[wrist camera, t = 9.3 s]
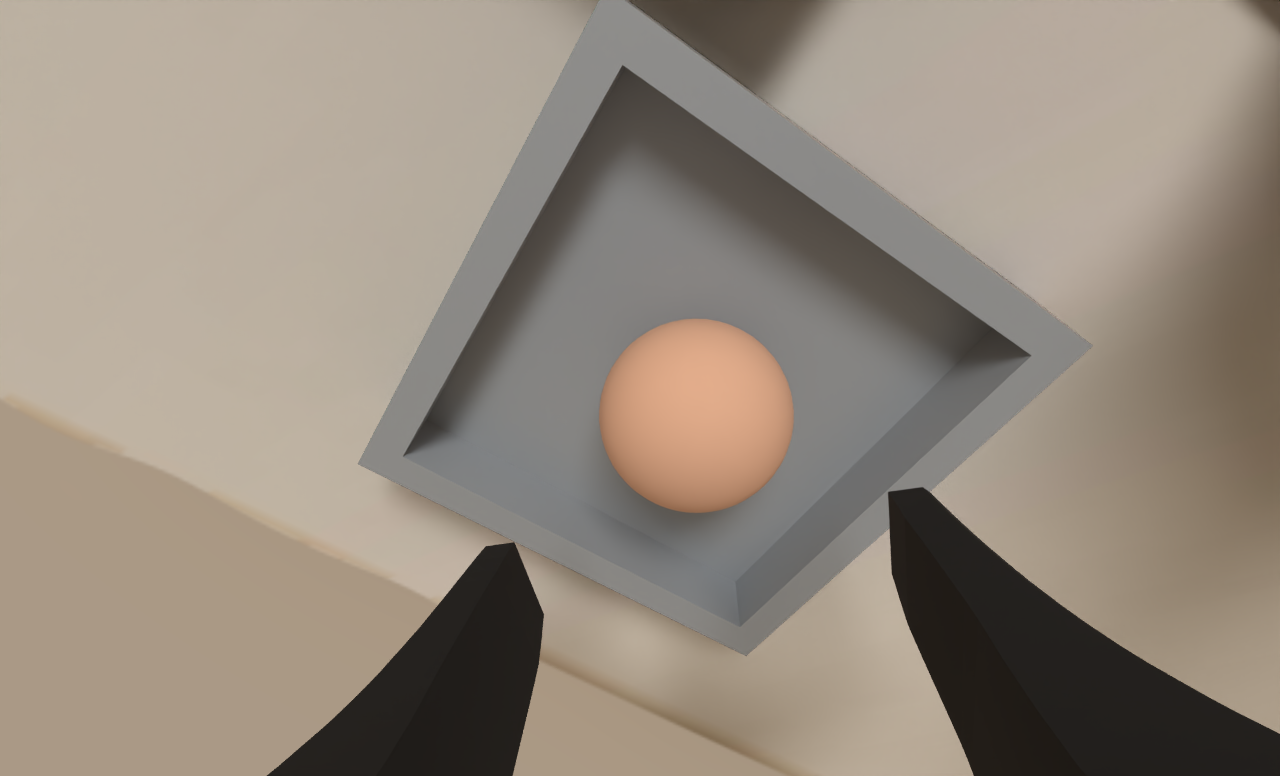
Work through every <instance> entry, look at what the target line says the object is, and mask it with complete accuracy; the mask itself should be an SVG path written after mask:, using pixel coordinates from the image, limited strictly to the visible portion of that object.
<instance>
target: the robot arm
mask: <svg viewBox="0 0 1280 776" xmlns="http://www.w3.org/2000/svg"><path fill="white" fill-rule="evenodd" d="M888 504H889V525H890V545H891V566H892V575H893V579H894V582H895V585H896V588H897V592H898V595H899V598H900V601H901V604H902V608H903V611H904V614H905V617H906V620H907V623H908V626H909V628H910V630H911V633H912V635H913V637H914V640H915V642H916V644H917V646H918V649H919V651H920V653H921V655H922V658H923V660H924V662H925V664H926V667H927V669H928V671H929V673H930V675H931V678H932V680H933V682H934V684H935V686H936V689H937V691H938V693H939V695H940V698H941V700H942V702H943V704H944V706H945V709H946V711H947V713H948V715H949V718H950V720H951V722H952V724H953V726H954V729H955V731H956V733H957V735H958V738H959V740H960V742H961V744H962V747H963V749H964V752H965V754H966V757H967V759H968V762H969V764H970V767H971V769H972V772H973V775H974V776H1280V734H1279V733H1277V732H1275V731H1273V730H1271V729H1269V728H1267V727H1265V726H1263V725H1261V724H1259V723H1257V722H1255V721H1253V720H1251V719H1249V718H1247V717H1245V716H1243V715H1241V714H1239V713H1237V712H1235V711H1233V710H1231V709H1229V708H1228V707H1226V706H1224V705H1222V704H1220V703H1218V702H1216V701H1214V700H1213V699H1211V698H1209V697H1207V696H1205V695H1204V694H1202V693H1200V692H1198V691H1196V690H1195V689H1193V688H1191V687H1189V686H1188V685H1186V684H1184V683H1182V682H1181V681H1179V680H1177V679H1175V678H1174V677H1172V676H1170V675H1168V674H1167V673H1165V672H1163V671H1161V670H1160V669H1158V668H1156V667H1154V666H1153V665H1151V664H1149V663H1147V662H1146V661H1144V660H1142V659H1141V658H1139V657H1138V656H1136V655H1134V654H1133V653H1131V652H1130V651H1128V650H1126V649H1125V648H1123V647H1122V646H1120V645H1118V644H1117V643H1115V642H1114V641H1112V640H1111V639H1109V638H1108V637H1106V636H1105V635H1103V634H1102V633H1100V632H1099V631H1097V630H1096V629H1094V628H1093V627H1091V626H1090V625H1088V624H1087V623H1085V622H1084V621H1083V620H1081V619H1080V618H1078V617H1077V616H1075V615H1074V614H1073V613H1071V612H1070V611H1069V610H1067V609H1066V608H1064V607H1063V606H1062V605H1060V604H1059V603H1058V602H1056V601H1055V600H1054V599H1052V598H1051V597H1050V596H1048V595H1047V594H1046V593H1044V592H1043V591H1042V590H1041V589H1039V588H1038V587H1037V586H1035V585H1034V584H1033V583H1031V582H1030V581H1029V580H1028V579H1026V578H1025V577H1024V576H1023V575H1021V574H1020V573H1019V572H1018V571H1016V570H1015V569H1014V568H1013V567H1012V566H1010V565H1009V564H1008V563H1007V562H1006V561H1005V560H1003V559H1002V558H1001V557H1000V556H999V555H997V554H996V553H995V552H994V551H993V550H991V549H990V548H989V547H988V546H987V545H986V544H985V543H983V542H982V541H981V540H980V539H979V538H978V537H977V536H975V535H974V534H973V533H972V532H971V531H970V530H969V529H968V528H967V527H966V526H965V525H963V524H962V523H961V522H960V521H959V520H958V519H957V518H956V517H955V516H954V515H953V514H952V513H951V512H950V511H949V510H948V509H946V508H945V507H944V506H943V505H942V504H941V503H940V502H939V501H938V500H937V499H936V498H935V497H934V496H933V495H932V494H931V493H930V492H929V491H928V490H926V489H925V488H923V487H919V488H911V489H904V490H897V491H889V492H888ZM543 618H544V614H543V611H542V609H541V606H540V604H539V602H538V599H537V597H536V594H535V592H534V589H533V587H532V584H531V582H530V580H529V577H528V575H527V572H526V570H525V567H524V565H523V562H522V560H521V558H520V555H519V553H518V550H517V548H516V545H515V543H507V544H500V545H493V546H486V547H485V548H484V549H483V550H482V551H481V553H480V554H479V555H478V556H477V557H476V559H475V560H474V561H473V562H472V564H471V565H470V566H469V567H468V569H467V570H466V571H465V572H464V574H463V575H462V576H461V577H460V579H459V580H458V581H457V582H456V584H455V585H454V586H453V587H452V589H451V590H450V591H449V592H448V594H447V595H446V596H445V597H444V599H443V600H442V601H441V602H440V603H439V605H438V606H437V607H436V608H435V609H434V611H433V612H432V613H431V614H430V616H429V617H428V618H427V619H426V620H425V622H424V623H423V624H422V625H421V627H420V628H419V629H418V630H417V631H416V632H415V633H414V635H413V636H412V637H411V638H410V639H409V640H408V641H407V642H406V644H405V645H404V646H403V647H402V648H401V649H400V650H399V652H398V653H397V654H396V655H395V656H394V657H393V658H392V659H391V660H390V662H389V663H388V664H387V665H386V666H385V667H384V668H383V669H382V671H381V672H380V673H379V674H378V675H377V676H376V677H375V678H374V679H373V680H372V681H371V682H370V683H369V684H368V685H367V686H366V687H365V688H364V689H363V690H362V691H361V692H360V693H359V694H358V695H357V696H356V697H355V698H354V699H353V700H352V701H351V702H350V703H349V704H348V705H347V706H346V707H345V708H344V709H343V710H342V711H341V712H340V713H339V714H338V715H337V716H335V718H333V719H332V720H331V721H330V722H329V723H328V724H327V725H326V726H325V727H323V728H322V729H321V730H320V731H319V732H318V733H316V734H315V735H314V736H313V737H312V738H311V739H310V740H308V741H307V742H306V743H305V744H304V745H303V746H301V747H300V748H299V749H298V750H297V751H296V752H294V753H293V754H292V755H291V756H290V757H289V758H288V759H286V760H285V761H284V762H283V763H282V764H281V765H279V767H277V768H276V769H274V770H273V771H272V772H271V773H270V774H268V775H267V776H512V775H513V771H514V767H515V763H516V759H517V754H518V750H519V746H520V742H521V738H522V734H523V729H524V725H525V721H526V717H527V713H528V709H529V704H530V700H531V696H532V691H533V687H534V683H535V678H536V674H537V669H538V665H539V657H540V648H541V639H542V628H543Z"/></svg>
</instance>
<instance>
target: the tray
mask: <svg viewBox="0 0 1280 776" xmlns="http://www.w3.org/2000/svg"><path fill="white" fill-rule="evenodd" d="M683 319H709V320H715V321H720V322H723V323H726V324H730V325H732V326H734V327H736V328H739V329H741V330H743V331H744V332H746V333H748V334H749V335H751V336H753V337H754V338H755V339H756V340H758V341H759V342H760V343H761V344H762V345H763V346H764V347H765V348H766V349H767V350H768V351H769V352H770V353H771V354H772V355H773V357H774V358H775V359H776V361H777V362H778V364H779V365H780V367H781V369H782V371H783V373H784V375H785V377H786V379H787V381H788V384H789V388H790V391H791V395H792V401H793V408H794V424H793V432H792V438H791V441H790V444H789V447H788V450H787V453H786V456H785V458H784V460H783V462H782V464H781V465H780V467H779V468H778V470H777V471H776V472H775V474H774V475H773V477H772V478H771V479H770V480H769V481H768V482H767V484H766V485H765V486H764V487H762V488H761V489H760V490H759V491H758V492H756V493H755V494H754V495H752V496H751V497H749V498H748V499H746V500H745V501H743V502H741V503H739V504H737V505H734V506H732V507H729V508H726V509H722V510H718V511H713V512H706V513H688V512H681V511H675V510H671V509H667V508H665V507H662V506H659V505H657V504H655V503H653V502H651V501H649V500H647V499H646V498H644V497H643V496H641V495H640V494H638V493H637V492H636V491H634V490H633V489H632V488H631V487H630V486H629V485H628V484H627V483H626V482H625V481H624V480H623V479H622V477H621V476H620V475H619V474H618V472H617V471H616V469H615V468H614V466H613V465H612V463H611V461H610V459H609V457H608V455H607V452H606V450H605V447H604V444H603V441H602V437H601V431H600V424H599V407H600V399H601V394H602V390H603V387H604V384H605V381H606V378H607V376H608V374H609V372H610V370H611V368H612V366H613V365H614V363H615V362H616V360H617V359H618V358H619V356H620V355H621V354H622V352H623V351H624V350H625V349H626V348H627V347H628V346H629V345H630V344H631V343H632V342H634V341H635V340H636V339H637V338H639V337H640V336H642V335H643V334H645V333H646V332H648V331H650V330H652V329H654V328H656V327H658V326H660V325H663V324H666V323H669V322H673V321H678V320H683ZM1092 346H1093V345H1091V344H1090V343H1089V342H1088V341H1086V340H1085V339H1084V338H1082V337H1081V336H1080V335H1079V334H1077V333H1076V332H1075V331H1073V330H1072V329H1071V328H1070V327H1068V326H1067V325H1066V324H1065V323H1063V322H1062V321H1061V320H1059V319H1058V318H1057V317H1056V316H1054V315H1053V314H1052V313H1050V312H1049V311H1048V310H1047V309H1045V308H1044V307H1043V306H1041V305H1040V304H1039V303H1037V302H1036V301H1035V300H1033V299H1032V298H1031V297H1029V296H1028V295H1027V294H1025V293H1024V292H1023V291H1021V290H1020V289H1019V288H1017V287H1016V286H1014V285H1013V284H1012V283H1010V282H1009V281H1008V280H1006V279H1005V278H1004V277H1002V276H1001V275H1000V274H998V273H997V272H995V271H994V270H993V269H991V268H990V267H989V266H987V265H986V264H985V263H983V262H982V261H981V260H979V259H978V258H977V257H975V256H974V255H972V254H971V253H970V252H968V251H967V250H966V249H964V248H963V247H962V246H960V245H959V244H958V243H956V242H955V241H954V240H952V239H951V238H949V237H948V236H947V235H945V234H944V233H943V232H941V231H940V230H939V229H937V228H936V227H935V226H933V225H932V224H930V223H929V222H928V221H926V220H925V219H924V218H922V217H921V216H920V215H918V214H917V213H916V212H914V211H913V210H912V209H910V208H909V207H907V206H906V205H905V204H903V203H902V202H901V201H899V200H898V199H897V198H895V197H894V196H893V195H891V194H890V193H888V192H887V191H886V190H884V189H883V188H882V187H880V186H879V185H878V184H876V183H875V182H874V181H872V180H871V179H870V178H868V177H867V176H865V175H864V174H863V173H861V172H860V171H859V170H857V169H856V168H855V167H853V166H852V165H851V164H849V163H848V162H846V161H845V160H844V159H842V158H841V157H840V156H838V155H837V154H836V153H834V152H833V151H832V150H830V149H829V148H828V147H826V146H825V145H823V144H822V143H821V142H819V141H818V140H817V139H815V138H814V137H813V136H811V135H810V134H809V133H807V132H806V131H805V130H803V129H802V128H800V127H799V126H798V125H796V124H795V123H794V122H792V121H791V120H790V119H788V118H787V117H786V116H784V115H783V114H781V113H780V112H779V111H777V110H776V109H775V108H773V107H772V106H771V105H769V104H768V103H767V102H765V101H764V100H763V99H761V98H760V97H758V96H757V95H756V94H754V93H753V92H752V91H750V90H749V89H748V88H746V87H745V86H744V85H742V84H741V83H739V82H738V81H737V80H735V79H734V78H733V77H731V76H730V75H729V74H727V73H726V72H725V71H723V70H722V69H721V68H719V67H718V66H716V65H715V64H714V63H712V62H711V61H710V60H708V59H707V58H706V57H704V56H703V55H702V54H700V53H699V52H697V51H696V50H695V49H693V48H692V47H691V46H689V45H688V44H687V43H685V42H684V41H683V40H681V39H680V38H679V37H677V36H676V35H674V34H673V33H672V32H670V31H669V30H668V29H666V28H665V27H664V26H662V25H661V24H660V23H658V22H657V21H656V20H654V19H653V18H651V17H650V16H649V15H647V14H646V13H645V12H643V11H642V10H641V9H639V8H638V7H637V6H635V5H634V4H632V3H631V2H630V1H628V0H599V1H598V3H597V5H596V7H595V9H594V11H593V13H592V15H591V17H590V19H589V21H588V23H587V24H586V26H585V28H584V30H583V32H582V34H581V36H580V38H579V40H578V42H577V44H576V46H575V48H574V49H573V51H572V53H571V55H570V57H569V59H568V61H567V63H566V65H565V67H564V69H563V71H562V73H561V74H560V76H559V78H558V80H557V82H556V84H555V86H554V88H553V90H552V92H551V94H550V96H549V97H548V99H547V101H546V103H545V105H544V107H543V109H542V111H541V113H540V115H539V117H538V119H537V121H536V122H535V124H534V126H533V128H532V130H531V132H530V134H529V136H528V138H527V140H526V142H525V144H524V146H523V147H522V149H521V151H520V153H519V155H518V157H517V159H516V161H515V163H514V165H513V167H512V169H511V170H510V172H509V174H508V176H507V178H506V180H505V182H504V184H503V186H502V188H501V190H500V192H499V194H498V195H497V197H496V199H495V201H494V203H493V205H492V207H491V209H490V211H489V213H488V215H487V217H486V219H485V220H484V222H483V224H482V226H481V228H480V230H479V232H478V234H477V236H476V238H475V240H474V242H473V243H472V245H471V247H470V249H469V251H468V253H467V255H466V257H465V259H464V261H463V263H462V265H461V267H460V268H459V270H458V272H457V274H456V276H455V278H454V280H453V282H452V284H451V286H450V288H449V290H448V292H447V293H446V295H445V297H444V299H443V301H442V303H441V305H440V307H439V309H438V311H437V313H436V315H435V317H434V318H433V320H432V322H431V324H430V326H429V328H428V330H427V332H426V334H425V336H424V338H423V340H422V341H421V343H420V345H419V347H418V349H417V351H416V353H415V355H414V357H413V359H412V361H411V363H410V365H409V366H408V368H407V370H406V372H405V374H404V376H403V378H402V380H401V382H400V384H399V386H398V388H397V390H396V391H395V393H394V395H393V397H392V399H391V401H390V403H389V405H388V407H387V409H386V411H385V413H384V414H383V416H382V418H381V420H380V422H379V424H378V426H377V428H376V430H375V432H374V434H373V436H372V438H371V439H370V441H369V443H368V445H367V447H366V449H365V451H364V453H363V455H362V457H361V459H360V461H359V463H358V464H359V465H361V466H363V467H365V468H367V469H369V470H371V471H373V472H375V473H377V474H379V475H381V476H383V477H385V478H387V479H389V480H391V481H393V482H395V483H397V484H399V485H401V486H403V487H405V488H407V489H409V490H411V491H413V492H415V493H417V494H419V495H421V496H423V497H425V498H427V499H429V500H431V501H434V502H436V503H438V504H440V505H442V506H444V507H446V508H448V509H450V510H452V511H454V512H456V513H458V514H460V515H462V516H464V517H466V518H468V519H470V520H472V521H474V522H476V523H478V524H480V525H482V526H484V527H486V528H488V529H490V530H492V531H494V532H496V533H498V534H500V535H502V536H504V537H506V538H508V539H510V540H512V541H514V542H516V543H518V544H520V545H522V546H524V547H527V548H529V549H531V550H533V551H535V552H537V553H539V554H541V555H543V556H545V557H547V558H549V559H551V560H553V561H555V562H557V563H559V564H561V565H563V566H565V567H567V568H569V569H571V570H573V571H575V572H577V573H579V574H581V575H583V576H585V577H587V578H589V579H591V580H593V581H595V582H597V583H599V584H601V585H603V586H605V587H607V588H609V589H611V590H613V591H615V592H617V593H620V594H622V595H624V596H626V597H628V598H630V599H632V600H634V601H636V602H638V603H640V604H642V605H644V606H646V607H648V608H650V609H652V610H654V611H656V612H658V613H660V614H662V615H664V616H666V617H668V618H670V619H672V620H674V621H676V622H678V623H680V624H682V625H684V626H686V627H688V628H690V629H692V630H694V631H696V632H698V633H700V634H702V635H704V636H706V637H708V638H710V639H713V640H715V641H717V642H719V643H721V644H723V645H725V646H727V647H729V648H731V649H733V650H735V651H737V652H739V653H741V654H743V655H745V656H747V655H748V654H749V653H750V652H751V651H752V650H753V649H755V648H756V647H757V646H758V645H759V644H760V643H761V642H762V641H763V640H765V639H766V638H767V637H768V636H769V635H770V634H771V633H772V632H774V631H775V630H776V629H777V628H778V627H779V626H780V625H781V624H782V623H784V622H785V621H786V620H787V619H788V618H789V617H790V616H791V615H793V614H794V613H795V612H796V611H797V610H798V609H799V608H800V607H801V606H803V605H804V604H805V603H806V602H807V601H808V600H809V599H810V598H812V597H813V596H814V595H815V594H816V593H817V592H818V591H819V590H821V589H822V588H823V587H824V586H825V585H826V584H827V583H828V582H829V581H831V580H832V579H833V578H834V577H835V576H836V575H837V574H838V573H840V572H841V571H842V570H843V569H844V568H845V567H846V566H847V565H848V564H850V563H851V562H852V561H853V560H854V559H855V558H856V557H857V556H859V555H860V554H861V553H862V552H863V551H864V550H865V549H866V548H867V547H869V546H870V545H871V544H872V543H873V542H874V541H875V540H876V539H878V538H879V537H880V536H881V535H882V534H883V533H884V532H885V531H886V530H888V529H889V528H890V525H889V504H888V492H889V491H897V490H904V489H911V488H919V487H923V488H925V489H926V490H928V491H929V492H930V491H931V490H932V489H933V488H935V487H936V486H937V485H938V484H939V483H940V482H941V481H942V480H944V479H945V478H946V477H947V476H948V475H949V474H950V473H951V472H952V471H954V470H955V469H956V468H957V467H958V466H959V465H960V464H961V463H963V462H964V461H965V460H966V459H967V458H968V457H969V456H970V455H971V454H973V453H974V452H975V451H976V450H977V449H978V448H979V447H980V446H982V445H983V444H984V443H985V442H986V441H987V440H988V439H989V438H991V437H992V436H993V435H994V434H995V433H996V432H997V431H998V430H999V429H1001V428H1002V427H1003V426H1004V425H1005V424H1006V423H1007V422H1008V421H1010V420H1011V419H1012V418H1013V417H1014V416H1015V415H1016V414H1017V413H1018V412H1020V411H1021V410H1022V409H1023V408H1024V407H1025V406H1026V405H1027V404H1029V403H1030V402H1031V401H1032V400H1033V399H1034V398H1035V397H1036V396H1037V395H1039V394H1040V393H1041V392H1042V391H1043V390H1044V389H1045V388H1046V387H1048V386H1049V385H1050V384H1051V383H1052V382H1053V381H1054V380H1055V379H1057V378H1058V377H1059V376H1060V375H1061V374H1062V373H1063V372H1064V371H1065V370H1067V369H1068V368H1069V367H1070V366H1071V365H1072V364H1073V363H1074V362H1076V361H1077V360H1078V359H1079V358H1080V357H1081V356H1082V355H1083V354H1084V353H1086V352H1087V351H1088V350H1089V349H1090V348H1091V347H1092Z"/></svg>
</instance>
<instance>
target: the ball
mask: <svg viewBox="0 0 1280 776" xmlns="http://www.w3.org/2000/svg"><path fill="white" fill-rule="evenodd" d="M599 424H600V431H601V437H602V441H603V444H604V447H605V450H606V452H607V455H608V457H609V459H610V461H611V463H612V465H613V466H614V468H615V469H616V471H617V472H618V474H619V475H620V476H621V477H622V479H623V480H624V481H625V482H626V483H627V484H628V485H629V486H630V487H631V488H632V489H633V490H634V491H636V492H637V493H638V494H640V495H641V496H643V497H644V498H646V499H647V500H649V501H651V502H653V503H655V504H657V505H659V506H662V507H665V508H667V509H671V510H675V511H681V512H688V513H706V512H713V511H718V510H722V509H726V508H729V507H732V506H734V505H737V504H739V503H741V502H743V501H745V500H746V499H748V498H749V497H751V496H752V495H754V494H755V493H756V492H758V491H759V490H760V489H761V488H762V487H764V486H765V485H766V484H767V482H768V481H769V480H770V479H771V478H772V477H773V475H774V474H775V472H776V471H777V470H778V468H779V467H780V465H781V464H782V462H783V460H784V458H785V456H786V453H787V450H788V447H789V444H790V441H791V438H792V432H793V424H794V408H793V401H792V395H791V391H790V388H789V384H788V381H787V379H786V377H785V375H784V373H783V371H782V369H781V367H780V365H779V364H778V362H777V361H776V359H775V358H774V357H773V355H772V354H771V353H770V352H769V351H768V350H767V349H766V348H765V347H764V346H763V345H762V344H761V343H760V342H759V341H758V340H756V339H755V338H754V337H753V336H751V335H749V334H748V333H746V332H744V331H743V330H741V329H739V328H736V327H734V326H732V325H730V324H726V323H723V322H720V321H715V320H709V319H683V320H678V321H673V322H669V323H666V324H663V325H660V326H658V327H656V328H654V329H652V330H650V331H648V332H646V333H645V334H643V335H642V336H640V337H639V338H637V339H636V340H635V341H634V342H632V343H631V344H630V345H629V346H628V347H627V348H626V349H625V350H624V351H623V352H622V354H621V355H620V356H619V358H618V359H617V360H616V362H615V363H614V365H613V366H612V368H611V370H610V372H609V374H608V376H607V378H606V381H605V384H604V387H603V390H602V394H601V399H600V407H599Z"/></svg>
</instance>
